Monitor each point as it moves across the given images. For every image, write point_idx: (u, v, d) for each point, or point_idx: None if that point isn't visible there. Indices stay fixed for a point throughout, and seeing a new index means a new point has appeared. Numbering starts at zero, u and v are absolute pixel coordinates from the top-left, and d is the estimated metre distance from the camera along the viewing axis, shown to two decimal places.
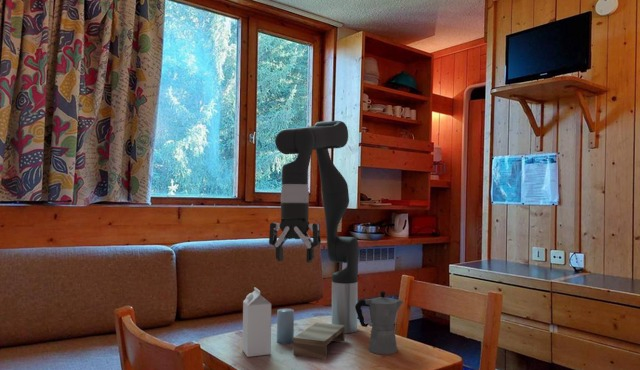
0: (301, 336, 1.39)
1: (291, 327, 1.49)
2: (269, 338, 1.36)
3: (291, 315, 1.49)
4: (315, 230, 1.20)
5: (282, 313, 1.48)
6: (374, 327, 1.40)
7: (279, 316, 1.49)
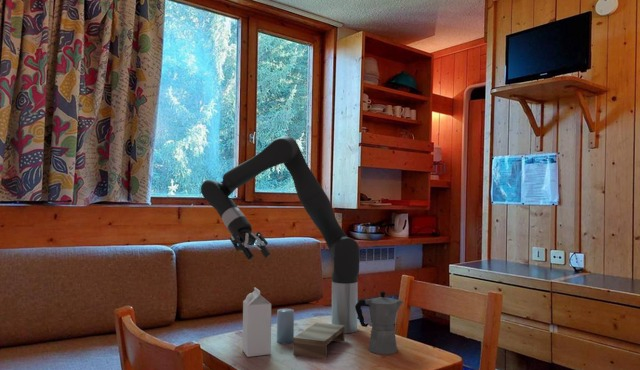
0: (301, 336, 1.39)
1: (291, 327, 1.49)
2: (269, 338, 1.36)
3: (292, 315, 1.49)
4: None
5: (282, 313, 1.48)
6: (374, 327, 1.40)
7: (279, 316, 1.49)
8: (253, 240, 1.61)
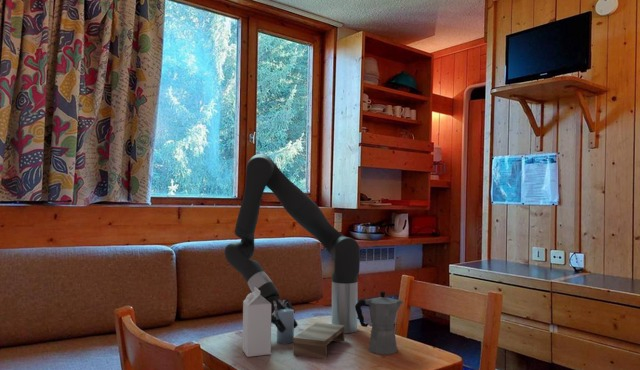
0: (301, 336, 1.39)
1: (291, 327, 1.49)
2: (269, 338, 1.36)
3: (291, 315, 1.49)
4: None
5: (282, 313, 1.48)
6: (374, 327, 1.40)
7: (279, 316, 1.49)
8: (279, 308, 1.53)
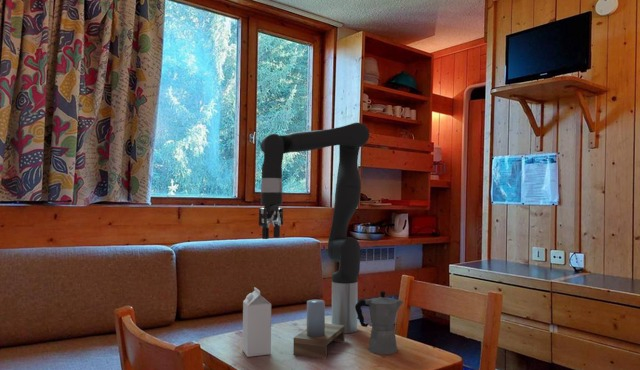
0: (301, 336, 1.39)
1: (322, 319, 1.39)
2: (269, 338, 1.36)
3: (323, 306, 1.39)
4: None
5: (313, 304, 1.38)
6: (374, 327, 1.40)
7: (309, 307, 1.39)
8: (275, 219, 1.60)
